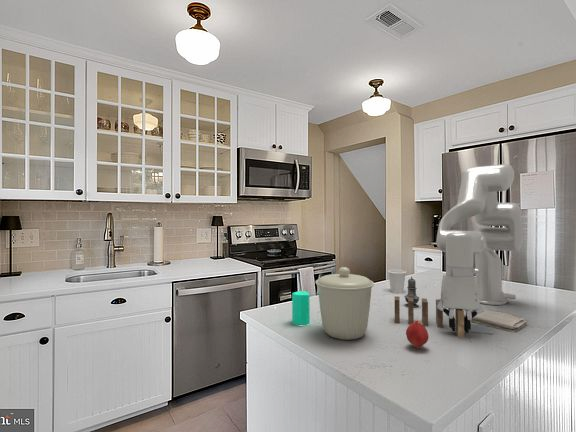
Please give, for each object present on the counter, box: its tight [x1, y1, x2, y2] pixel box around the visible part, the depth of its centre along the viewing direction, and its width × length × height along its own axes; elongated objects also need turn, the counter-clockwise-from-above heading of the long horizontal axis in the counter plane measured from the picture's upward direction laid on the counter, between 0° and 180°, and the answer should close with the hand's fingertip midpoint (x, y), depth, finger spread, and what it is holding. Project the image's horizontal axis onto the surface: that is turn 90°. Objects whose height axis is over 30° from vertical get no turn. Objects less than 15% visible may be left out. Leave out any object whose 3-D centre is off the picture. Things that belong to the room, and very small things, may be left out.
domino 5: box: [454, 309, 465, 338], centre depth 98 cm, size 2×5×8 cm, turn 160°
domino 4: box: [435, 299, 444, 329], centre depth 106 cm, size 2×5×8 cm, turn 160°
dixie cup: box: [387, 269, 407, 294], centre depth 152 cm, size 8×8×10 cm
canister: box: [315, 266, 375, 341], centre depth 99 cm, size 18×18×21 cm
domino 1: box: [394, 295, 401, 324], centre depth 111 cm, size 2×5×8 cm, turn 160°
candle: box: [291, 290, 311, 326], centre depth 109 cm, size 6×6×12 cm
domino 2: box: [407, 297, 415, 325], centre depth 109 cm, size 2×5×8 cm, turn 160°
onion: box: [405, 319, 430, 349], centre depth 88 cm, size 6×6×8 cm
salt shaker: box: [403, 276, 420, 309], centre depth 129 cm, size 6×6×12 cm
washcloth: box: [464, 308, 528, 333], centre depth 109 cm, size 12×18×3 cm, turn 37°
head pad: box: [469, 323, 493, 335], centre depth 102 cm, size 7×8×1 cm
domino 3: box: [421, 297, 429, 327], centre depth 108 cm, size 2×5×8 cm, turn 160°
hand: (459, 330), depth 98 cm, fingers open, 3 cm apart
